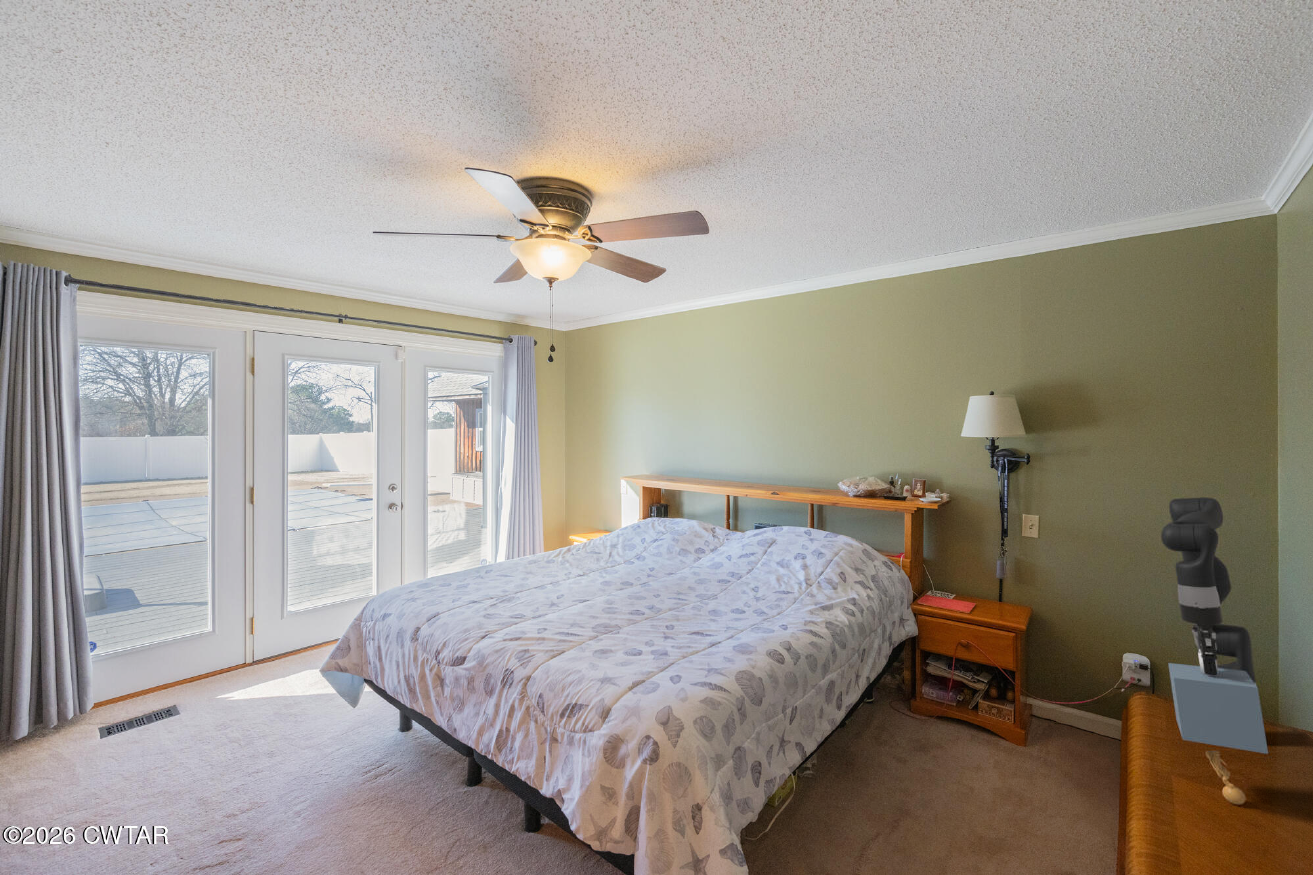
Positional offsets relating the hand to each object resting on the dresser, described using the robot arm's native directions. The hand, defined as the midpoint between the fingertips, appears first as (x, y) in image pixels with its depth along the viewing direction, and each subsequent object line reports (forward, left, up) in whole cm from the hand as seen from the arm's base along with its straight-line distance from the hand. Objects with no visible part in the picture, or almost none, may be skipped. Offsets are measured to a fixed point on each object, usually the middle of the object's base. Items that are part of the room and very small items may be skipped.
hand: (1209, 671), depth 140 cm
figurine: (0, 0, -31) cm, 31 cm away
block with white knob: (0, 0, -16) cm, 16 cm away
